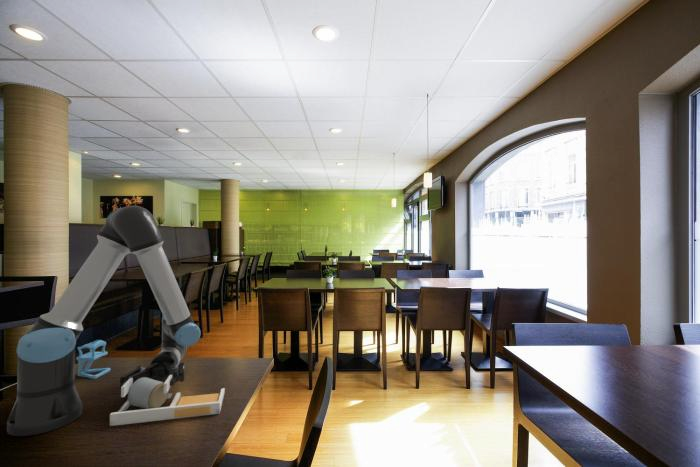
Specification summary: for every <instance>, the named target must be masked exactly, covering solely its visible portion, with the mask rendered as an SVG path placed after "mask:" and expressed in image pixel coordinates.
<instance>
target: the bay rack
mask: <svg viewBox="0 0 700 467" xmlns="http://www.w3.org/2000/svg"><path fill="white" fill-rule="evenodd" d="M225 392H226V388H225V387H223V388H221V389H220V392H219V393H217V392H216V393H209V394H198V395H197V394H196V395H188V396H187V395H186V396H181V393H182V392H176V393H175V396H174V397H173V399H172V402H171V403H170V405H169V406H161V407H159V408H151V409H146V408H141V409H134V410H128V409H129V407H131V406H132V405H131V404H130V403H129V402H128V399H127V400H126V401H125V402H124V404H122V406H121V407H120V408H119V410H118V411H115V412H110V414H109V426H110V427H113V426H114V427H115V426H124V425H132V424H140V423H149V422H157V421H158V422H159V421H166V420H175V419H185V418H194V417H201V416H210V415H211V416H212V415H219V414H221V410H222V405H223V401H224V398H225Z"/></svg>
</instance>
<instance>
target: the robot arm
mask: <svg viewBox="0 0 700 467" xmlns="http://www.w3.org/2000/svg"><path fill="white" fill-rule="evenodd" d="M96 238H97V244H96V246H95V247H94V248H93V249H92V251H91V252H90V254H89V256H88V257H87V258H86V260H85V261H84V262H83V265H82V266H81V267H80V269H79V270H78V272H76V274H75V276H74V277H73V279H72V280H71V281H70V283H69V285H68V286H67V287H66V288H65V290H64V292H63V293H62V295H61V296H59V298H58V300H57V301H56V303H55V304H54V306H53V307H52V309H51V310H50V311H49V312H47V313H43V314H41V315H40V316H39V317H38V318H37V320H36V322H34V324H33V325H32V327H31V328H30V329H29V330H28V331H27V332H26V333H24V335H23V336H22V337H20V338H19V340H18V344H17V346H16V354H17V365H16V366H17V368H16V369H17V373H16V375H17V376H16V378H17V379H16V381H17V382H16V400H15V402H14V405H13V407H12V409H11V412H10V414H9V417H8V419H7V422H6V433H7V434H8V435H11V436H14V437H27V436H34V435H39V434H45V433H47V432H51V431H54V430H57V429H60V428H62V427H64V426H66V425H68V424H70V423H72V422H74V421H76V420H77V419H78V418H79V417H80V416H82V413H83V403H82V402H83V401H82V400H81V397H80V395H79V392H78V390H77V388H76V386H75V384H76V382H75V381H76V380H75V377H76V375H75V374H76V370H75V366H76V364H75V363H76V344H77V340H78V339H79V337H80V335H81V334H82V332H83V330H84V326H83V323H82V322H83V321H84V319H85V318H86V317H87V315H88V313H89V312H90V311H91V309H92V307H93V305H94V304H95V302H96V301H97V299H98V298H99V297H100V295H101V293H102V292H103V290H104V289H105V287H106V286H107V285H108V283H109V281H110V279H111V278H112V277H113V276H114V273H116V270H117V269H118V268H119V266H120V265H121V263H122V261H123V260H124V258H125V257H126V256H127V255H128V254H133V255H135V256H136V258H137V261H138V263H139V265H140V267H141V270H142V271H143V274H144V276H145V278H146V281H147V282H148V284H149V287H150V289H151V291H152V294H153V296H154V298H155V300H156V303H157V304H158V307H159V309H160V312H161V313H162V315H161V316H162V317H161V350H160V351H159V352H158V353H157V354H156V356H155V357H154V358H153V359H152V360H151V363H150V364H149V365H146V367H143V366H142V365H137V366H136V368H134V369H132V370H130V371H129V372H128V373H125V374H124V375H122V376H120V377H119V378H120V379H119V386H120V387H121V388H120V398H125V397H126V395H128V392H129V390H130V388H131V386H132V385H133V383H134V382H135V381H136V380H138V379H139V378H142V377H146V378H150V379H153V378H155V377H158V378H166V379H165V381H164V382H163V383H164V393H167V392H168V390H170V389H171V387H172V386H173V387H174V386H175V385H176V384H177V382H178V381H179V382H182V383H183V382H185V363H184V362H181V361H182V359H183V358H184V357H185V356H186V352H187V350H188V348H187V347H192V346H194V345H195V344H197V343H198V341H199V339H200V337H201V334H202V333H201V329H200V327H199V325H197V324H196V323H195V321H194V319H193V317H192V315H191V313H190V310H189V307H188V304H187V302H186V300H185V298H184V296H183V292H182V291H181V289H180V286H179V284H178V281H177V279H176V277H175V274H174V272H173V269H172V266H171V265H170V262H169V260H168V257H167V255H166V253H165V251H164V249H163V244H164V241H165V240H164V239H163V237H162V235H161V232H160V228H159V226H158V224H157V222H156V219H155V218H154V215H153V214H152V213H151V212H150V211H149V210H148V209H147V208H144V207H142V206H139V205H128V206H124V207H120V208H116V209H114V210H112V212H110V213H109V215H108V216H107V217H106V220H105V224H104V225H103V226H102V227H101V229H100V230H99V232H98V233H97V235H96ZM180 362H181V363H180Z"/></svg>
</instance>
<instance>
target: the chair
mask: <svg viewBox="0 0 700 467" xmlns="http://www.w3.org/2000/svg"><path fill="white" fill-rule="evenodd" d="M106 345H107V342H106V341H104V340H102V339H96V340H94V341H92V342H89V343H86V344H84V345H81V346H78V347H77V351H78V352H79V354H78V356H75V361H77V362H78V368H77V369H78V370H77V377H82V378H86V379H87V378H88V379H93V380H95V379H98V378H99V377H101V376H103V375H105V374H107V373H109V372H111V367H105V368H93V369H90V368H91V366H92V363H93V362H94V361H95V360H98V359H99V358H101V357H103V356H104V357H105V356H106V355H108V352H109V351H106V350H105V349H106ZM99 347H100V348H101V347H102V348H101V351H96V349H98V348H99ZM83 349H89V352H86V353H84V354H83V351H82V350H83ZM87 361H88V362H87ZM85 362H87V364H86V366H85V368H84V364H85ZM91 373H97V374H95V375H93V374H91Z"/></svg>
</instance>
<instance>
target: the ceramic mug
mask: <svg viewBox="0 0 700 467" xmlns="http://www.w3.org/2000/svg"><path fill="white" fill-rule="evenodd" d="M164 383H165V382H163V381H160V380H156V379H153V378H146V377H142V378H139V379H138V380H136V381H135V382H134V383H133V385H132V386H131V388H130V390H129V392H128V393H127V400H128V402H129V403H130V404H131V405H130V406H133V407H136V408H137V407H138V408H141V409H151V408H160V407H163V405H164V404H165V402H167V400H170V399H172V396H173V393H172V392H170V391H169V390H170V389H169V390H168V392H167V393H164Z"/></svg>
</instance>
